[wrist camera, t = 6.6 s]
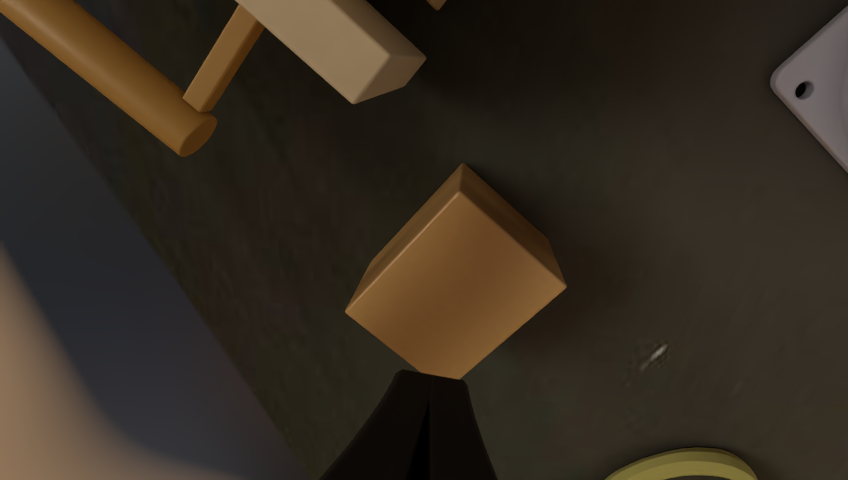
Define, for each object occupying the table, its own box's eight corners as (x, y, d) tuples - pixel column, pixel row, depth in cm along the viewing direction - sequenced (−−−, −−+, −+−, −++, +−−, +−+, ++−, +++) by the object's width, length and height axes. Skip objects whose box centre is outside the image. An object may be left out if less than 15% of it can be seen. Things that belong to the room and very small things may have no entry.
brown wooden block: (548, 239, 17) (568, 287, 14) (451, 329, 19) (445, 392, 16) (462, 161, 17) (459, 190, 13) (369, 262, 19) (343, 312, 15)
